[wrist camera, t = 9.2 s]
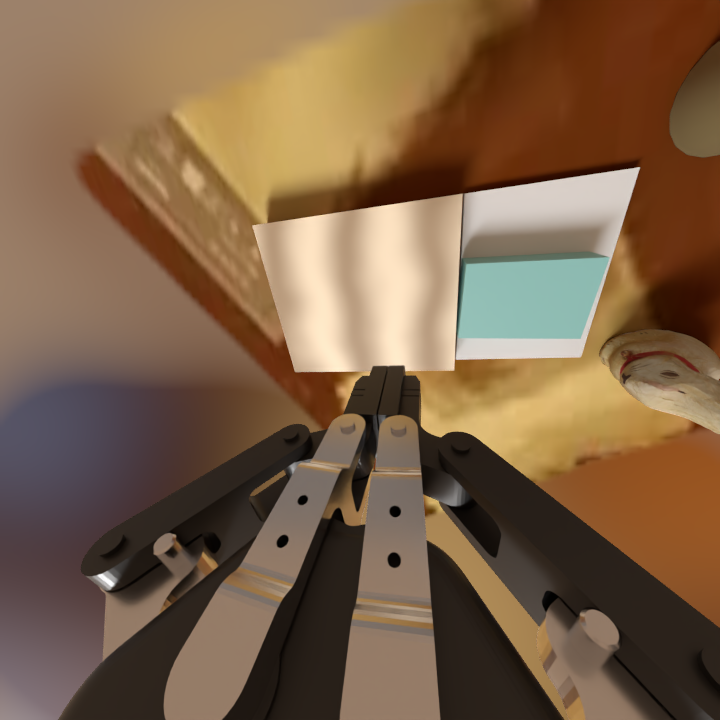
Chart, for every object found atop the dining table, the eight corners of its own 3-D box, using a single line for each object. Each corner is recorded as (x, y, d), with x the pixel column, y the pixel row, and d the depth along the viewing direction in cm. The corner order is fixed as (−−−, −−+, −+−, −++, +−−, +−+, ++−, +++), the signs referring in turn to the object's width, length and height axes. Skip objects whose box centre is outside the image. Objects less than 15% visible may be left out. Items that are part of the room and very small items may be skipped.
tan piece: (643, 303, 21) (791, 368, 13) (713, 352, 22) (896, 445, 14) (580, 352, 24) (667, 433, 16) (645, 394, 25) (760, 492, 17)
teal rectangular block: (589, 251, 20) (609, 257, 18) (565, 326, 23) (580, 338, 21) (461, 258, 22) (466, 264, 20) (455, 326, 25) (458, 338, 22)
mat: (634, 167, 18) (640, 167, 17) (578, 354, 24) (580, 357, 24) (463, 193, 20) (464, 193, 19) (455, 357, 27) (455, 359, 26)
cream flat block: (457, 194, 20) (462, 193, 18) (451, 357, 27) (454, 370, 25) (267, 223, 24) (252, 225, 21) (303, 360, 30) (295, 372, 28)
